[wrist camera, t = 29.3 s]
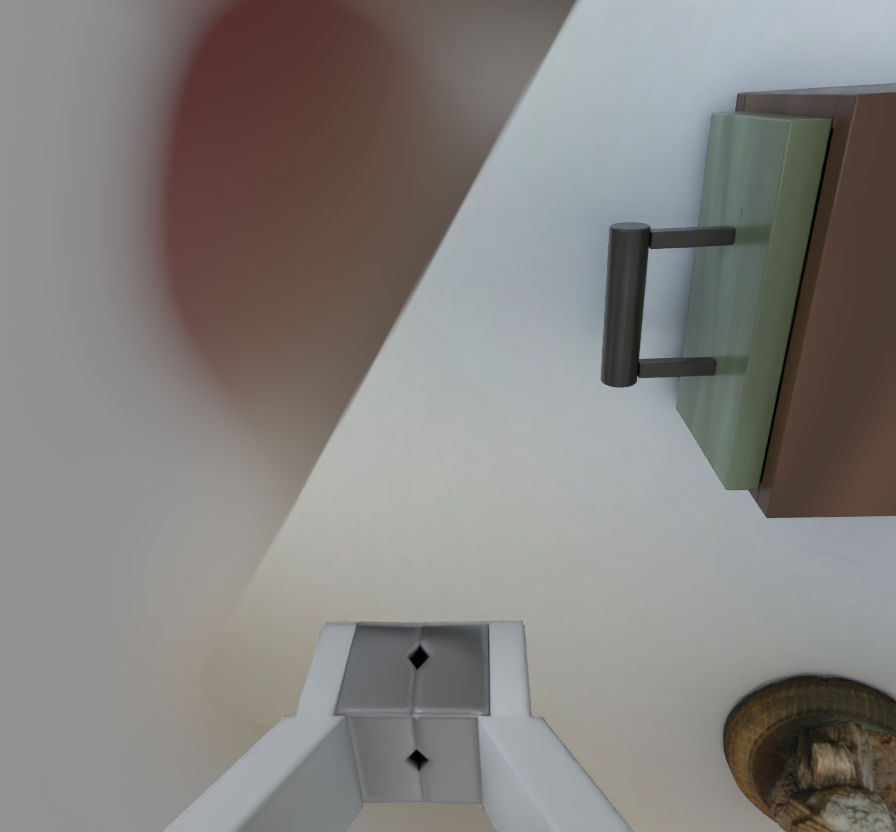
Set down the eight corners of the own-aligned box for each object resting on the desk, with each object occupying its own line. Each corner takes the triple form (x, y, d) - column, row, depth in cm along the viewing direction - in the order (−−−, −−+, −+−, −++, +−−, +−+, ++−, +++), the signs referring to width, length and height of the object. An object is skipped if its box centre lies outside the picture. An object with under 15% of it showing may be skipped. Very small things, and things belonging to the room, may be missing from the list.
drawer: (583, 411, 30) (609, 493, 24) (596, 119, 24) (635, 129, 18) (1002, 399, 29) (1143, 482, 23) (1121, 88, 23) (1355, 87, 17)
